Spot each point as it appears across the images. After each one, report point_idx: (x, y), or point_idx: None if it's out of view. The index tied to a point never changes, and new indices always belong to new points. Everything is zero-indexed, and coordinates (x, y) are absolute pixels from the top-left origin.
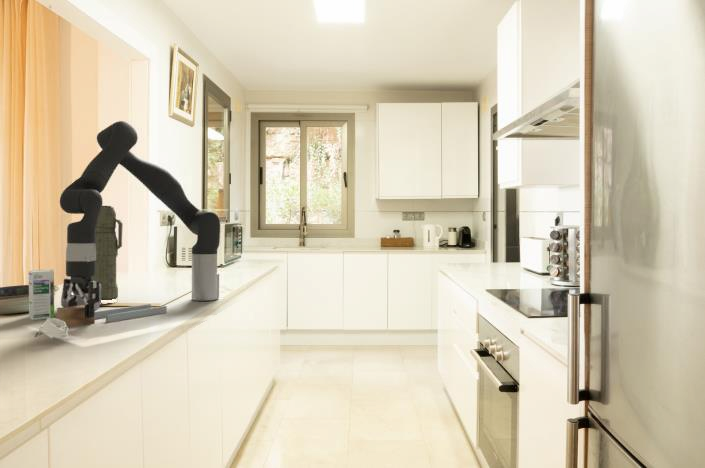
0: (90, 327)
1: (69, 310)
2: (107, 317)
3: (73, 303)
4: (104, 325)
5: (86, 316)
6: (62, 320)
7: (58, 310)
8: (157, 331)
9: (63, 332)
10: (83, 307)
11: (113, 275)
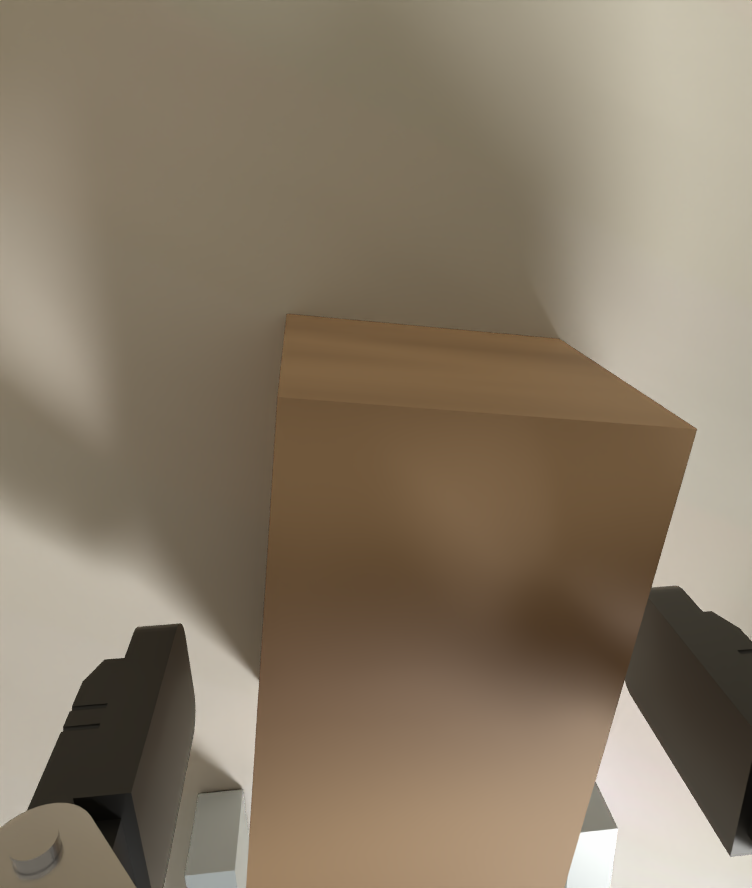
0: (3, 542)
1: (275, 498)
2: (195, 847)
3: (726, 775)
4: (15, 698)
5: (132, 639)
6: (354, 344)
7: (592, 408)
8: None
9: None
10: (282, 757)
11: None
